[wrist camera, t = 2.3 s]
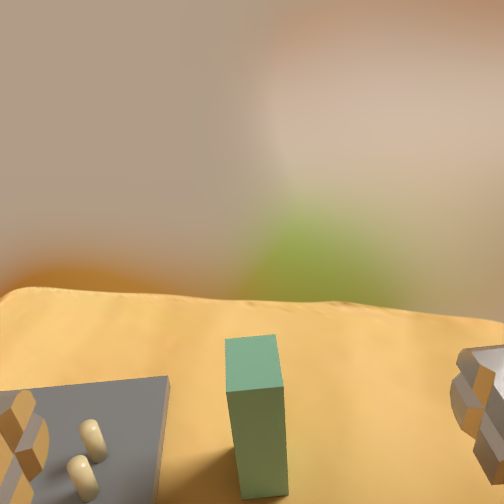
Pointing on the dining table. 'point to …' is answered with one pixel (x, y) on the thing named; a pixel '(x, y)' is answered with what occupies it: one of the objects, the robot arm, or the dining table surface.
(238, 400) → the board block
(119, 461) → the pin base
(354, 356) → the dining table surface
